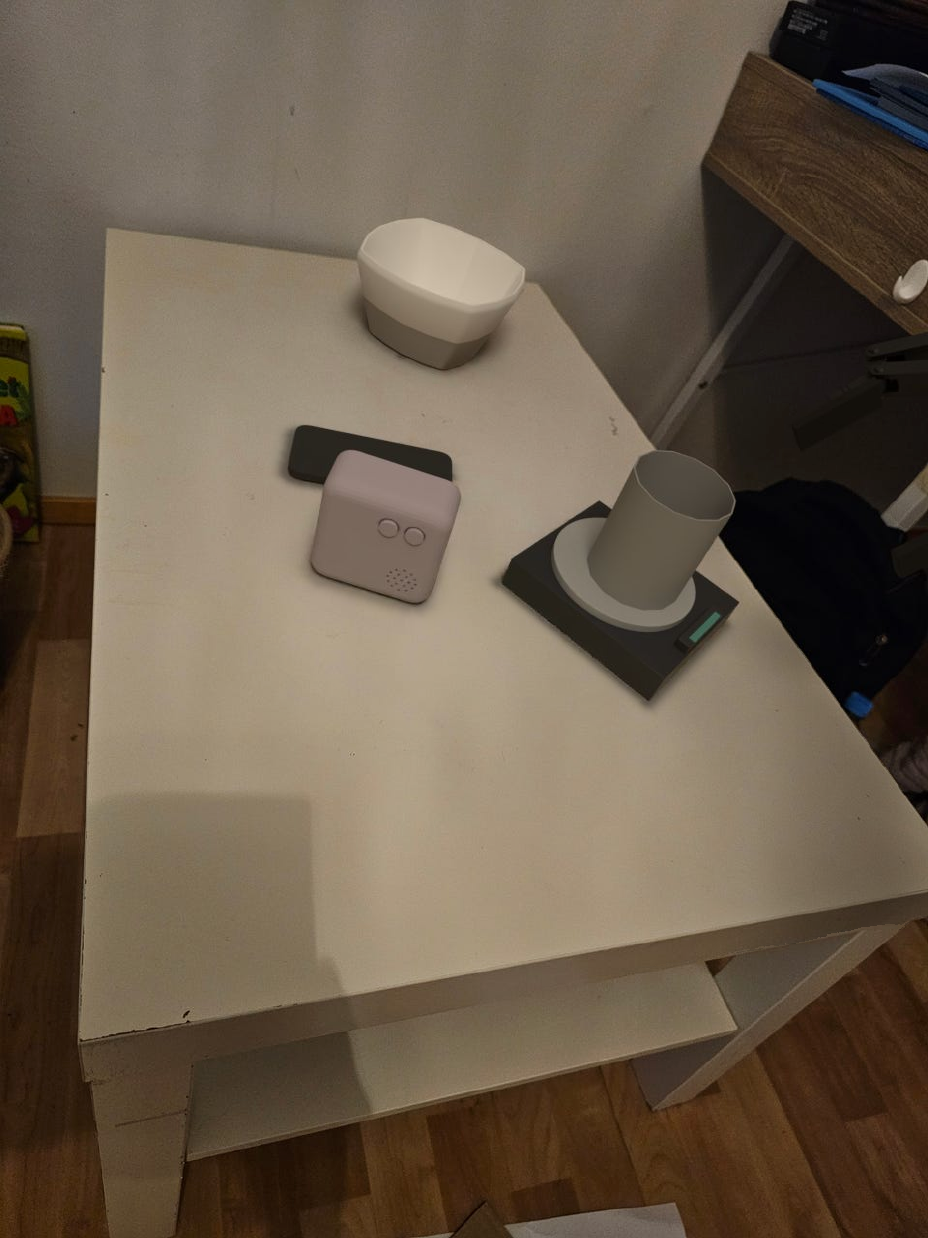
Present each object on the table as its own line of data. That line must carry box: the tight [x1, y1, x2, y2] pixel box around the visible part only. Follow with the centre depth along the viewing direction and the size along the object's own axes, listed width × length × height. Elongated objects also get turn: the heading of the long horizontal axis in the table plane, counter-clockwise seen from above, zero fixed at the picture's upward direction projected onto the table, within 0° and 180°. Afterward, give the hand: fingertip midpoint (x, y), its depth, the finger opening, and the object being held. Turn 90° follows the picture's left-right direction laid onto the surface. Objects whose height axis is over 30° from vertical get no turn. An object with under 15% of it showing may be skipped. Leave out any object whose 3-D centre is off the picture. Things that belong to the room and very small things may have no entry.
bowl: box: [356, 217, 527, 370], centre depth 93 cm, size 18×18×9 cm
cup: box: [587, 449, 737, 610], centre depth 68 cm, size 8×8×10 cm
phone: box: [287, 424, 453, 484], centre depth 77 cm, size 7×1×15 cm
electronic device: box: [310, 450, 462, 604], centre depth 65 cm, size 10×5×10 cm, turn 80°
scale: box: [501, 499, 740, 702], centre depth 73 cm, size 16×14×4 cm
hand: (841, 497), depth 59 cm, fingers open, 13 cm apart
